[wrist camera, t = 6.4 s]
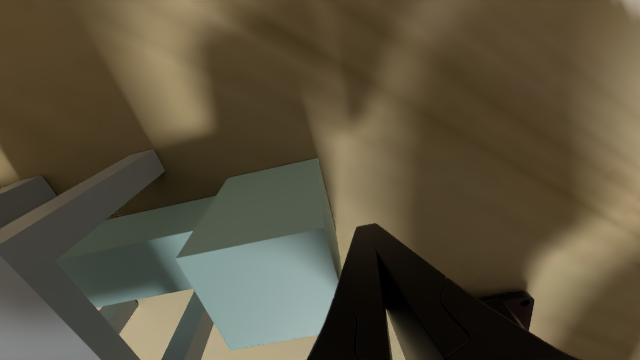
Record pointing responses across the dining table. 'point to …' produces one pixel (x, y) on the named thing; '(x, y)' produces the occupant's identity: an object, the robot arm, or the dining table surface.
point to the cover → (57, 287)
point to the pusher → (226, 255)
